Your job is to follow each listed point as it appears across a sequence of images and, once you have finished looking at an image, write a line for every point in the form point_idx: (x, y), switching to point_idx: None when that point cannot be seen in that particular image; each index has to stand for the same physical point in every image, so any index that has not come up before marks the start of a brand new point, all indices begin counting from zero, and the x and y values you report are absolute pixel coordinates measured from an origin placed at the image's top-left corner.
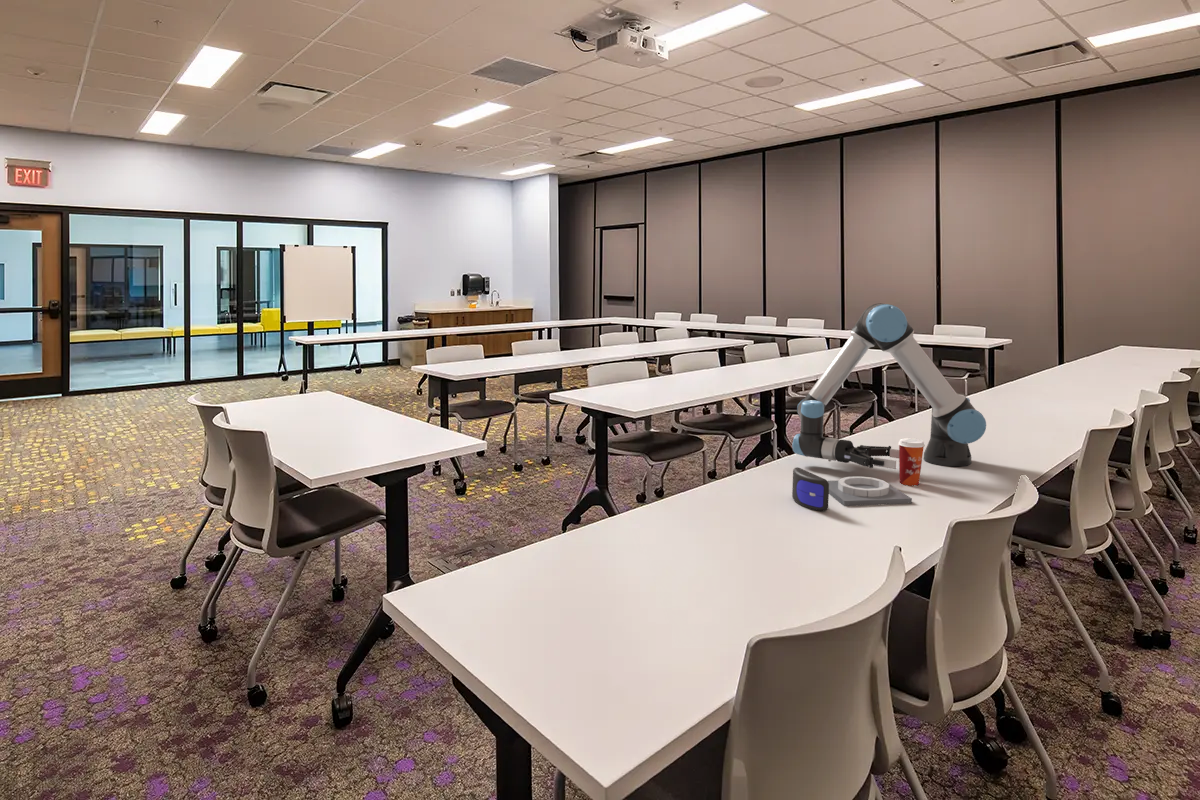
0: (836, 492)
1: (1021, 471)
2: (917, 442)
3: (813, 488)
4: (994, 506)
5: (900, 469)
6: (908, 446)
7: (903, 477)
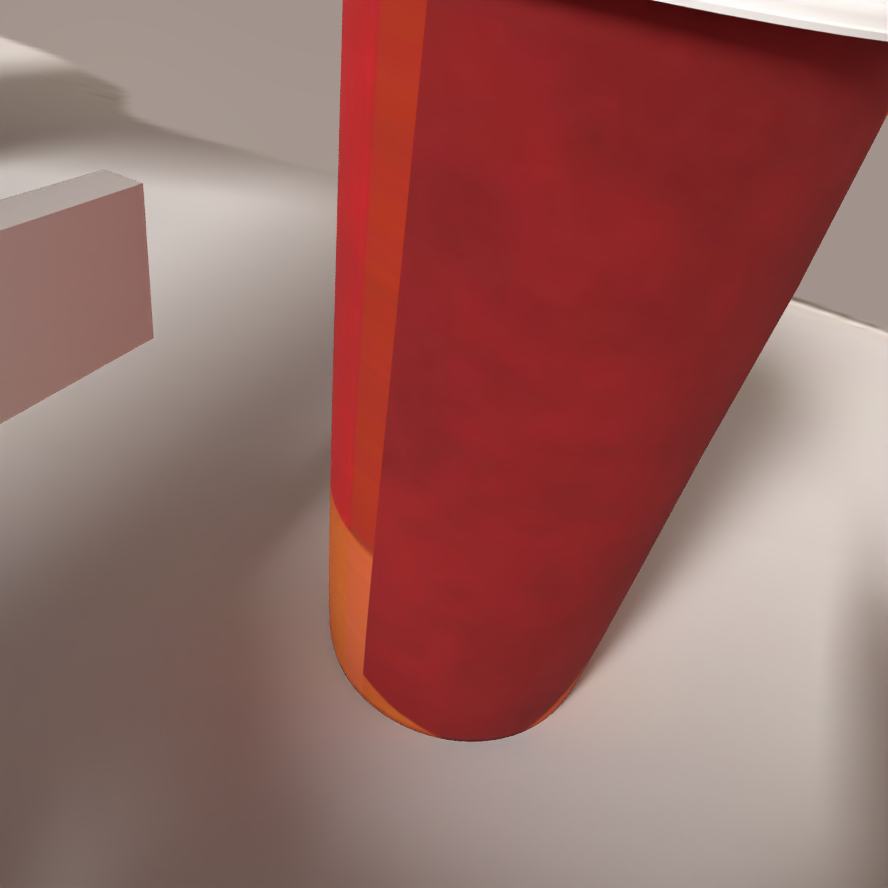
0: None
1: (41, 81)
2: None
3: None
4: (833, 316)
5: (586, 585)
6: None
7: (597, 639)
